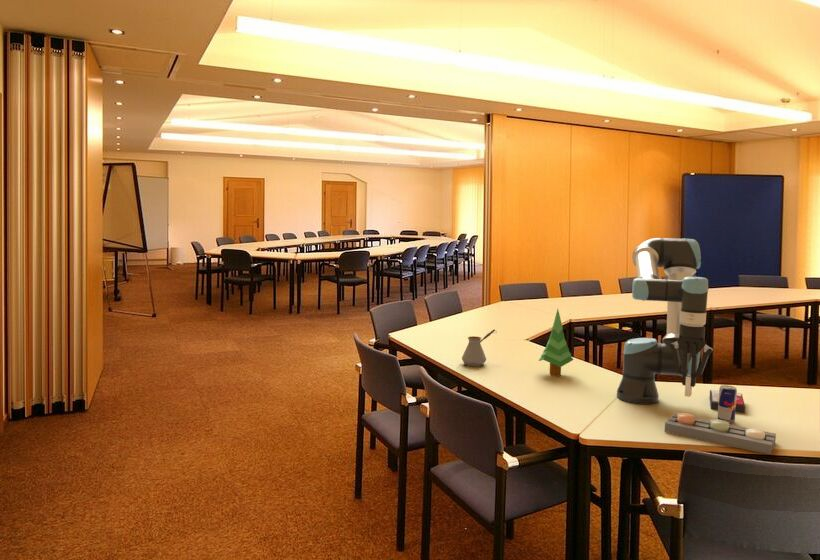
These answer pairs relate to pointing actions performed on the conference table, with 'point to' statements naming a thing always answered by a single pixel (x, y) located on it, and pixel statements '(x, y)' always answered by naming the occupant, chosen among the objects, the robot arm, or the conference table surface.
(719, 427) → the sage button
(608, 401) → the conference table surface
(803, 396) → the conference table surface
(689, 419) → the terracotta button
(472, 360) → the coffee pot
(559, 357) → the decorative tree
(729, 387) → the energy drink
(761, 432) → the white button
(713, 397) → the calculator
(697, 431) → the button panel
